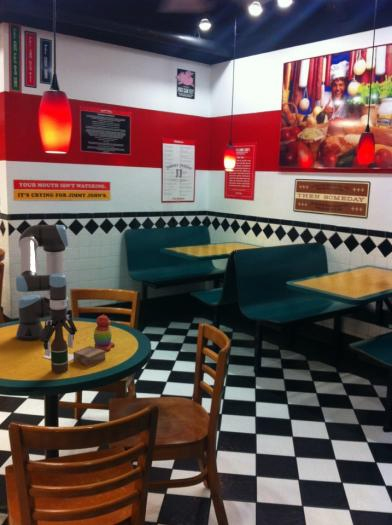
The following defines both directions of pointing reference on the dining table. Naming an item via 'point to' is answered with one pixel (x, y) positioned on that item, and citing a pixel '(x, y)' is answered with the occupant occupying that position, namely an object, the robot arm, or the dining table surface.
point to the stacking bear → (103, 334)
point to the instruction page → (70, 357)
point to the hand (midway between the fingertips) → (59, 351)
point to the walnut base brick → (89, 356)
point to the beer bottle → (59, 352)
